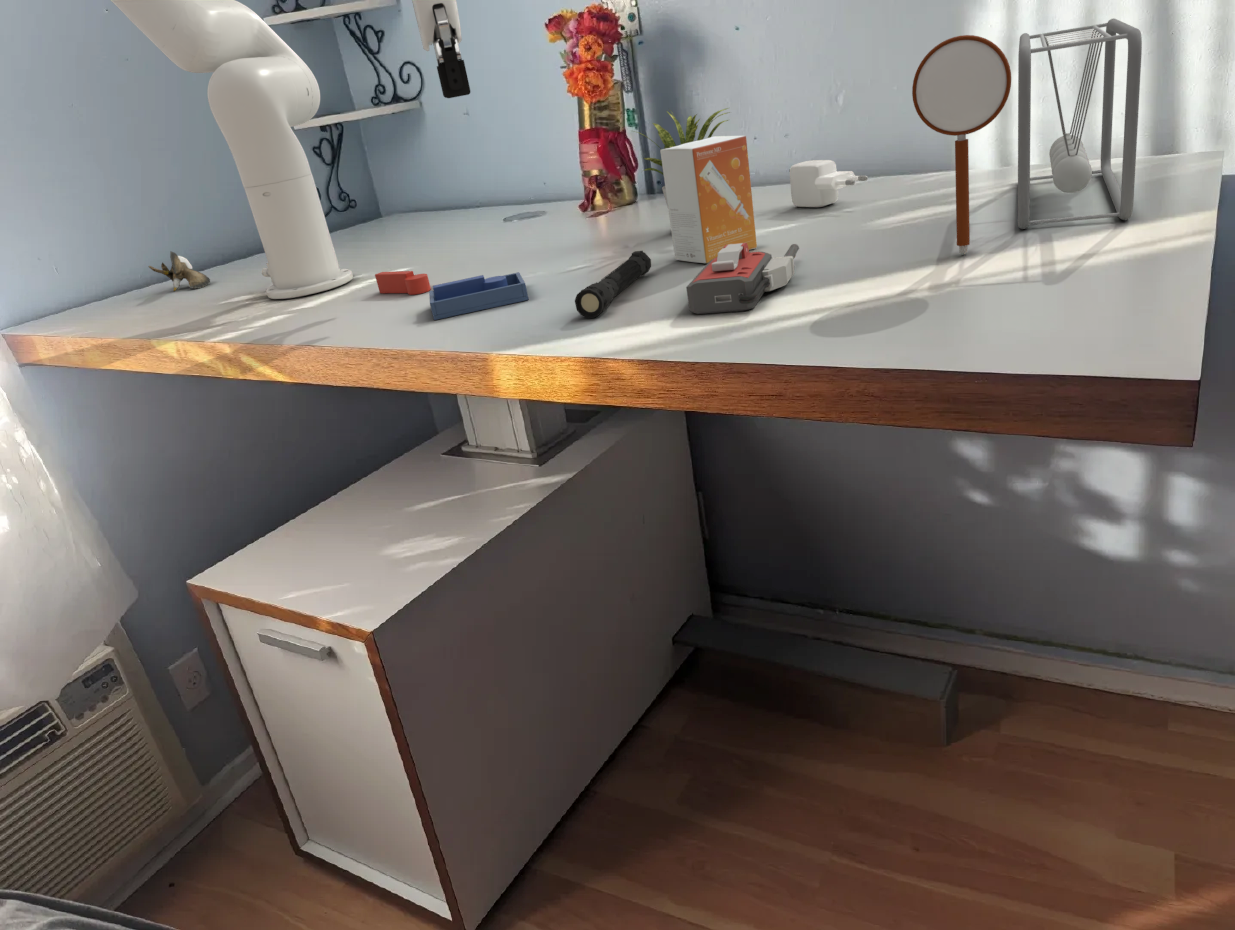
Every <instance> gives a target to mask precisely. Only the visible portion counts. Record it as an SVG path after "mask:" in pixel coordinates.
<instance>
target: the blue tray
mask: <svg viewBox="0 0 1235 930" xmlns="http://www.w3.org/2000/svg"><path fill="white" fill-rule="evenodd" d="M502 276H506V279H507V284H508V286H505V287H500V288H495V289H491V290H486V291H481V292H477V293H472V294H467V295H462V296H458V297H453V298H448V299H444V300H439V301H436V298H435V294H434V290H432V289H431V290H430V291H428V294H429V306H430V310H431V314H432V317H433V318H432V319H433V320H434V321H436V320H437V321H438V320H443V319H446V318H451V317H455V316H460V315H464V314H469V313H474V312H479V311H484V310H488V309H493V308H497V307H502V306H507V305H513V304H516V303H521V302H526V301H529V295H528V290H527V285H526V282H525V280H524V278H523V277H522V275H521V273H520V272H517V271H516V272H512V273H507V274H503V275H502Z"/></svg>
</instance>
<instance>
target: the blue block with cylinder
mask: <svg viewBox="0 0 1235 930" xmlns="http://www.w3.org/2000/svg"><path fill="white" fill-rule="evenodd" d="M505 286H508V284H507V279H506V276H503V275H495V276H490V277H487V278H485V275H483V274H481V275H476V276H472V277H468V278H462V279H458V280H453V281H448V282H444V283H440V284H439V283H438V284H435V285H432V289H433V290H434V294H435V298H436V301H439V300H444V299H448V298H453V297H458V296H462V295H467V294H472V293H477V292H481V291H486V290H491V289H495V288H500V287H505Z"/></svg>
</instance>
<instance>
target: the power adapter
mask: <svg viewBox="0 0 1235 930" xmlns="http://www.w3.org/2000/svg"><path fill="white" fill-rule="evenodd" d="M868 179H869V177H868V175H856V174H855V173H854V171H852V170H838V169H837V164H836V162H835V161H834V160H831V159H817V160H816V159H815V160H814V159H811V160H805V161H801V162H798V163H794V164H793V165H791V166H790V168H789V184H790V195H791V200H792V201H791V202H792V204H793V205H794V206H795V207H797V208H822V207H826V206H829V205H832V204H834V203H836V202H837V201H838V199H839V190H840V189H842V188H846V187H850V186H854V185H855V184H856V182H866V181H868Z"/></svg>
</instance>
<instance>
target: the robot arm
mask: <svg viewBox="0 0 1235 930" xmlns="http://www.w3.org/2000/svg"><path fill="white" fill-rule="evenodd" d="M110 2H112V3H113V4H114V6H116V7H117V8H118V9H119V10H120V11H121V12H122V13H123V15H124V16H125V17H126V18H127V19H128V20H129V21H130V22H132V24H133V25H134V26H135V27H136V28H137V29H138V30H139V31H140V32H141V33H143V35H144V36H145V37H146V38H147V39H148V40H149V41H150V42H151V43H152V44H153V45H154V46H155V47H156V48H158V50H159V51H160V52H162V54H164V56H166V57H167V58H168V59H169V60H170V61H171V62H172V63H173V64H174V65H176V67H178V68H179V69H181V70H182V71H185V72H189V73H193V74H208V73H212V74H211V76H210V78H209V81H208V84H207V101H208V105H209V109H210V112H211V113H212V116H213V119H214V120H215V122H216V124H217V126H218V128H219V130H220V131H221V132H220V133H222V135H223V137H224V139H225V141H226V143H227V145H228V148H229V151H230V153H231V155H232V159H233V160H234V163H235V166H236V169H237V172H238V174H239V178H240V180H241V183H242V187H243V189H244V192H245V195H246V198H247V202H248V205H249V207H250V210H251V213H252V216H253V220H254V223H255V227H256V230H257V232H258V235H259V238H260V241H261V245H262V248H263V250H264V254H265V257H266V260H267V262H266V267H263V268H262V269H261V275H262V276H263V277H265V278H270V279H271V283H272V285H270V286H269V287H267V288H266V290H265V292H266V295H267V298H269V299H272V300H284V299H285V300H286V299H294V298H300V297H305V296H310V295H314V294H317V293H322V292H325V291H328V290H332V289H335V288H338V287H340V286H343V285H345V284H348V283H349V282H351V281H352V280H353V278H354V275H353V271H352V270H351V269H348V268H340V264H339V261H338V257H337V254H336V251H335V248H334V247H335V246H334V244H333V239H332V237H331V233H330V230H329V227H328V223H327V220H326V216H325V212H324V210H323V206H322V202H321V200H320V197H319V193H318V189H317V185H316V182H315V178H314V176H313V173H312V170H311V166H310V163H309V160H308V157H307V155H306V152H305V150H304V148H303V146H302V144H301V142H300V140H299V138H298V136H297V135H296V134H295V133H294V130H293V129H292V127H296V126H300V125H302V124H306V123H307V122H309V121H311V119H313V118H314V116H315V115H317V112H318V110H319V108H320V104H321V90H320V87H319V82H318V80H317V78H316V76H315V75H314V73H313V71H312V70H311V69H310V67H309V66H308V65H307V63H305V61H304V60H303V58H301V57H300V56H299V55H298V54H297V53H296V51H294V50H293V49H292V48H291V47H290V46H289V45H288V43H286V42H285V41H284V39H282V38H281V37H280V36H279V35H278V34H277V32H275V30H274V29H272V28H271V26H269V25H268V24H267V23H266V21H264V20H263V18H261V17H260V15H258V14H257V13H256V12H255V11H254V10H252V9H251V8H250V7H248V6H247V5H245V4H244V3H242V2H240V1H239V0H110ZM411 3H412V7H413V11H414V15H415V20H416V24H417V27H418V32H419V36H420V40H421V45H422V49H423V50H424V51H426V52H429V51H430V46H432V45H433V48H434V54H435V57H436V61H437V62H436V63H437V66H436V70H437V74H438V79H439V84H440V88H441V92H442V96H443V97H444V99H453V98H459V97H463V96H469V95H470V94H471V87H470V82H469V78H468V73H467V68H466V64H465V59H463V58H462V52H461V49H460V45H459V44H460V43H462V40H463V38H462V30H461V29H462V28H461V21H460V15H459V9H458V8H459V7H458V3H457V0H411Z"/></svg>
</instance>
